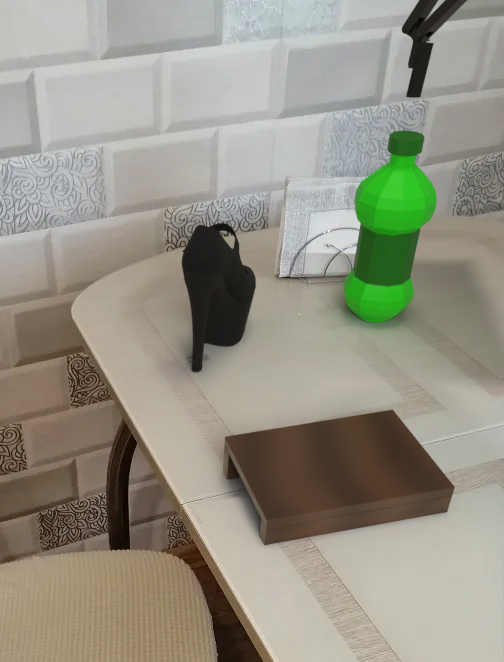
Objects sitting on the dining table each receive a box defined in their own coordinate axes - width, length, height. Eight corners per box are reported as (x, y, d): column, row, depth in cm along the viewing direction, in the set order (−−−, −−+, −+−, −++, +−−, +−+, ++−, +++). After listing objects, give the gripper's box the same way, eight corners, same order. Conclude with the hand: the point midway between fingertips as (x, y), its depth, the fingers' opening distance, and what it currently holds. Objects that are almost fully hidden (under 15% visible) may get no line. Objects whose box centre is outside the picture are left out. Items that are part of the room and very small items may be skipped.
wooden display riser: (385, 443, 94) (392, 409, 91) (444, 522, 84) (455, 487, 81) (222, 470, 91) (224, 436, 88) (263, 556, 81) (267, 520, 78)
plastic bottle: (403, 297, 120) (440, 122, 104) (414, 332, 113) (456, 150, 96) (336, 295, 121) (361, 122, 105) (342, 331, 114) (371, 150, 97)
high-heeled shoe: (262, 317, 117) (273, 181, 104) (217, 385, 105) (223, 239, 91) (211, 308, 120) (216, 174, 107) (161, 372, 107) (159, 229, 94)
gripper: (402, -100, 98) (362, 91, 109) (616, -101, 84) (544, 119, 95) (431, -92, 103) (389, 91, 114) (637, -91, 89) (566, 118, 100)
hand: (460, 104), depth 105 cm, fingers open, 13 cm apart
